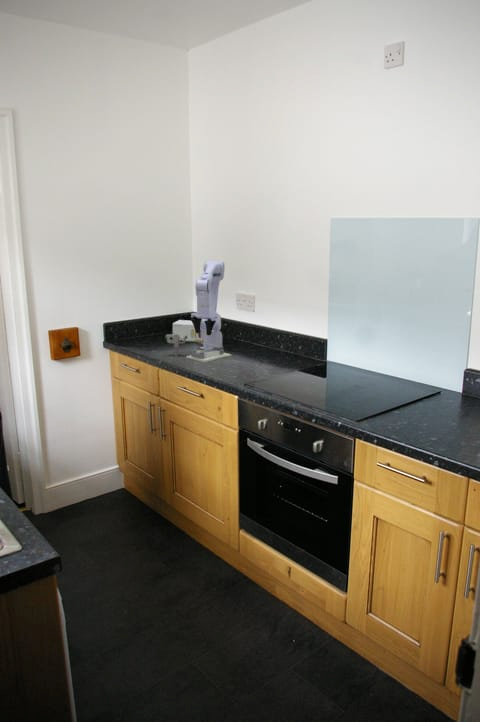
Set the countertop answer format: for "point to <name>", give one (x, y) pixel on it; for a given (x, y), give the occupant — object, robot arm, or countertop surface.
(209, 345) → the strip
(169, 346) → the countertop surface
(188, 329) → the supplement box
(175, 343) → the mechanical component
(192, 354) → the board
